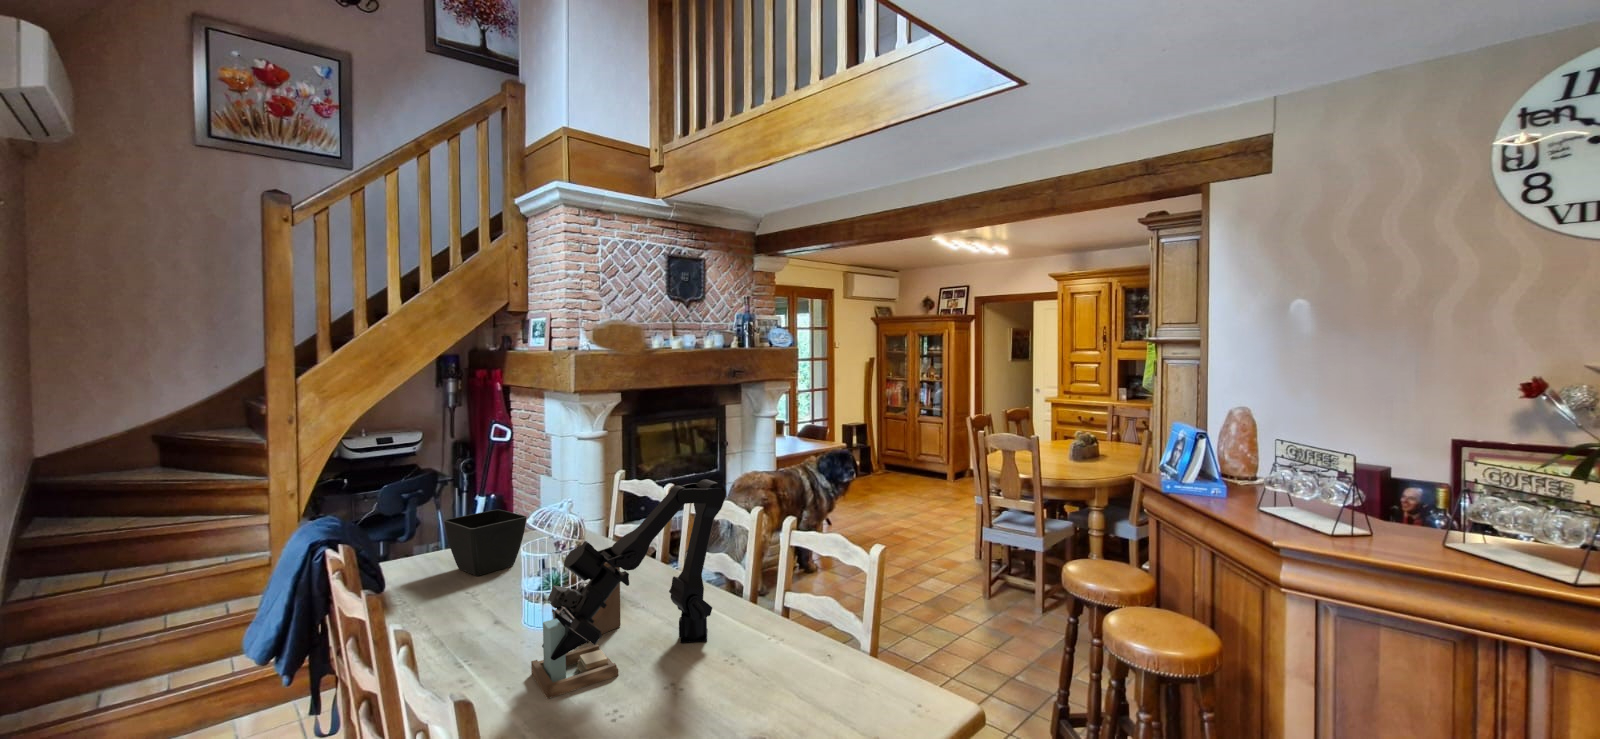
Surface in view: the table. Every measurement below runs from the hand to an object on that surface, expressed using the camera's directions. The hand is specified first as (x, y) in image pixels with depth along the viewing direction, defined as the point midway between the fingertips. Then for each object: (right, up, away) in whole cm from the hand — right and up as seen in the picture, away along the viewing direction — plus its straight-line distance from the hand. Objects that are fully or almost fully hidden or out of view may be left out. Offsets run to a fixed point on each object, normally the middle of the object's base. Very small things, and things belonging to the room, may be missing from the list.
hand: (547, 653), depth 134 cm
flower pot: (-50, -5, +73) cm, 89 cm away
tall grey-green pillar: (+1, -7, +1) cm, 7 cm away
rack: (+5, -6, +4) cm, 9 cm away
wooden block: (+3, -6, +26) cm, 26 cm away
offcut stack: (+8, -7, +6) cm, 12 cm away
